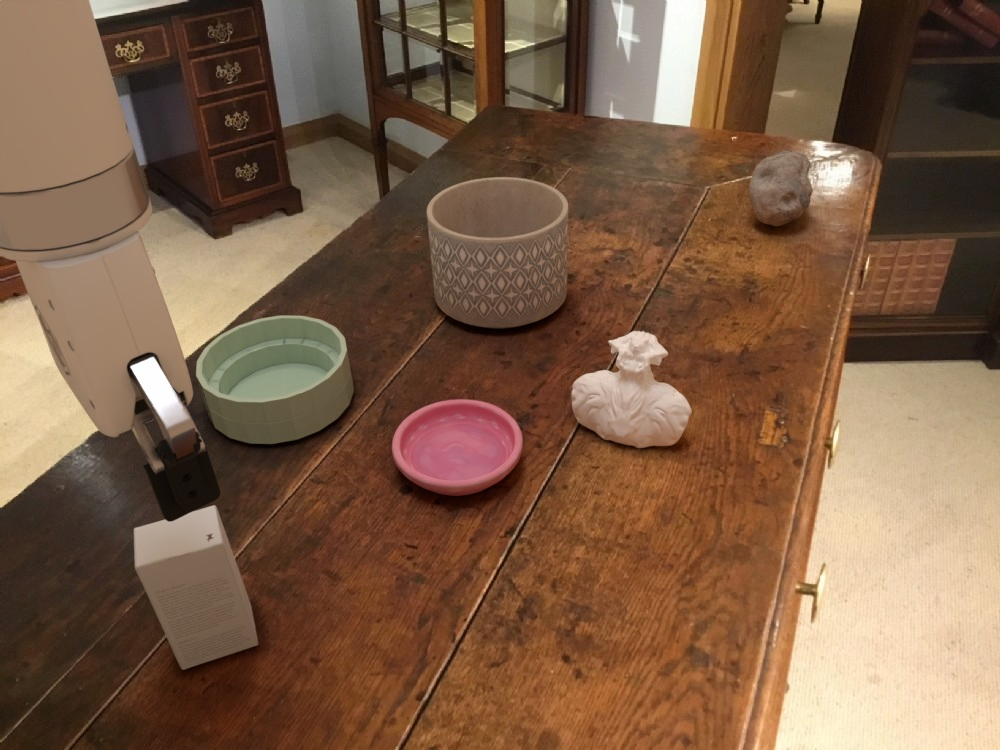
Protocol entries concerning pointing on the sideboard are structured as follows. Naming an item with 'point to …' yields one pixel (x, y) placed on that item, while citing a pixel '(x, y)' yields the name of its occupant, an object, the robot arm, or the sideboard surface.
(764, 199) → the stone
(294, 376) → the bowl
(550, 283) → the planter
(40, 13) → the robot arm
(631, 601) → the sideboard surface
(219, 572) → the cosmetic box
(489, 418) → the saucer
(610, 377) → the bust
